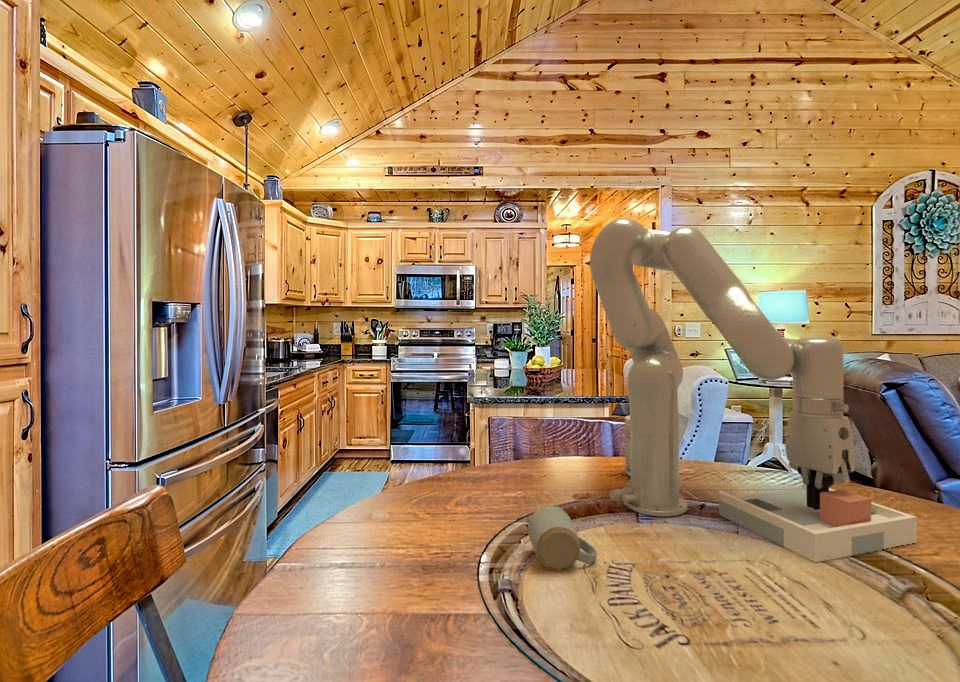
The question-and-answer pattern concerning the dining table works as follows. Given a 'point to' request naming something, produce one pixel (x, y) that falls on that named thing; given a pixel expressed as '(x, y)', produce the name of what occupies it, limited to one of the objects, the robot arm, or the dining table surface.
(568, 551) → the ceramic mug
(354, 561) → the dining table surface
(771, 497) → the board
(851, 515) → the block
